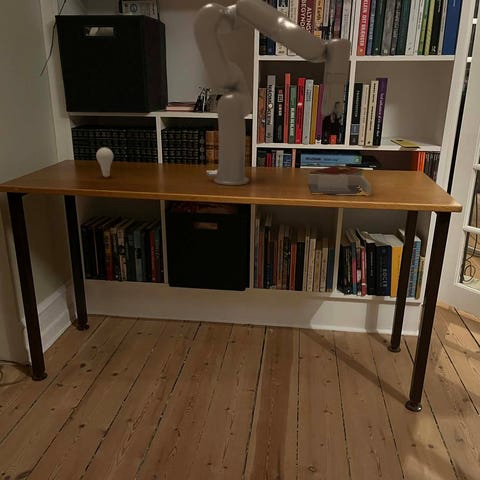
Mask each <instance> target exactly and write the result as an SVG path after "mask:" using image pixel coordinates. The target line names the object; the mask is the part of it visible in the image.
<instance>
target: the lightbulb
mask: <svg viewBox="0 0 480 480" xmlns="http://www.w3.org/2000/svg"><path fill="white" fill-rule="evenodd" d="M95 156H96V160H97V162H98V163H99V165H100V168H101V171H102V176H103V177H104V178H108V177H110V175H111V174H110V173H111V172H110V170H111V165H112V162H113V161H114V153H113V151H112V150H111V149H110V148H108V147H101V148H99V149H98V150H97V152H96V155H95Z"/></svg>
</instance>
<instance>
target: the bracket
mask: <svg viewBox="0 0 480 480" xmlns="http://www.w3.org/2000/svg"><path fill="white" fill-rule="evenodd" d="M347 188H348V176H347V175H346V174H339V176H322V175H318V181H317V189H318V190H339V191H347Z"/></svg>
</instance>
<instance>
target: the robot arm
mask: <svg viewBox="0 0 480 480" xmlns="http://www.w3.org/2000/svg"><path fill="white" fill-rule="evenodd" d="M247 28H248V29H249V28H253V29H255V30H256V31H258V32H259V33H261V34H262V35H264V36H265V37H267V38H269V39H271V40H272V41H273V42H274V43H277V44H279V45H281V46H282V47H284V48H286V50H289V51H290V52H291V53H294V54H296V55H297V56H299V57H300V58H302V59H303V60H304V61H307V62H310V63H316V64H317V63H324V75H323V85H324V88H323V93H322V100H321V107H320V113H321V115H322V122H321V123H322V124H321V132H322V133H328V135H330V136H339V135H340V132H341V130H340V129H341V123H342V121H341V119H342V114H343V110H344V102H345V101H344V100H345V99H344V97H345V86H347V85H348V79H349V78H348V76H349V67H350V61H351V60H350V59H351V50H352V49H351V48H352V41H351V40H350V39H347V38H339V37H338V38H337V37H336V38H331V39H329V40H328V39H323V38H320V37H319V36H317V35H315V34H313V33H312V32H310V31H309V30H307V29H306V28H304V27H302V26H301V25H299V24H297V23H296V22H295V21H293V20H292V19H291V18H290V17H289V16H288V15H286V14H285V13H284V12H282V11H281V10H278V9H277V8H275V7H274V6H272V5H270V4H269V3H267V2H265V1H264V0H237V1H236V3H235V4H232V5H228V6H224V5H222V4H219V3H215V2H210V3H209V2H208V3H206V4H205V5H203V6H202V7H201V8H200V9H199V10H198V12H197V13H196V16H195V17H194V22H193V36H194V39H195V43H196V46H197V49H198V51H199V54H200V57H201V59H202V64H203V66H204V68H205V71H206V73H207V77H208V80H209V83H210V84H211V85H212V87H213V88H215V89H217V90H220V91H221V92H222V95H221V97H220V98H219V99H218V102H217V106H216V110H217V111H216V113H217V121H218V168H217V169H215V170H212V169H211V170H210V169H207V170H206V176H209V177H215V178H214V179H213V180H214V183H216V184H219V185H220V184H221V185H225V186H240V185H247V184H248V183H249V182H250V180H249V179H250V178H248V177H246V176H245V169H246V168H245V167H246V120H245V118H246V117H247V116H249V115H250V114H251V112H252V110H253V105H254V104H253V99H252V96H251V93H250V91H249V87H248V85H247V82H246V79H245V77H244V74H243V71H242V70H241V68H240V67H239V66H238V65H237V64H236V63H234V62H231V61H230V59H229V57H228V55H227V51H226V48H225V45H224V43H223V42H222V40H221V38H220V34H224V35H226V34H230V33H233V32H234V33H235V32H238V31H242V30H246V29H247Z"/></svg>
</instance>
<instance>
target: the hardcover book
mask: <svg viewBox="0 0 480 480" xmlns="http://www.w3.org/2000/svg"><path fill="white" fill-rule="evenodd" d="M364 170H365V169H364V168H360V167H353V166H346V165H338V164H337V165H333V166H328V167H324V168H320V169H317V170H312V171H311V170H310V172H309V174H323V175H339V174H346V175H354V176H363V171H364Z"/></svg>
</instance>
